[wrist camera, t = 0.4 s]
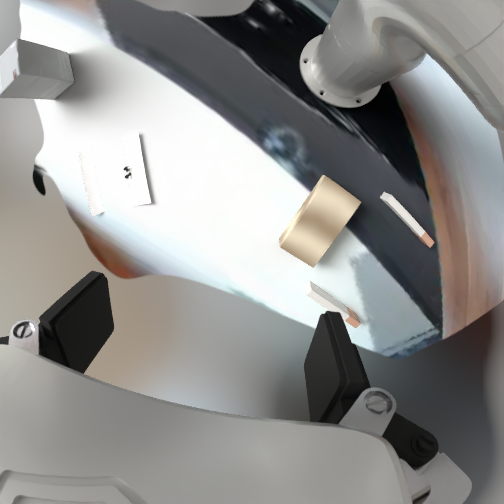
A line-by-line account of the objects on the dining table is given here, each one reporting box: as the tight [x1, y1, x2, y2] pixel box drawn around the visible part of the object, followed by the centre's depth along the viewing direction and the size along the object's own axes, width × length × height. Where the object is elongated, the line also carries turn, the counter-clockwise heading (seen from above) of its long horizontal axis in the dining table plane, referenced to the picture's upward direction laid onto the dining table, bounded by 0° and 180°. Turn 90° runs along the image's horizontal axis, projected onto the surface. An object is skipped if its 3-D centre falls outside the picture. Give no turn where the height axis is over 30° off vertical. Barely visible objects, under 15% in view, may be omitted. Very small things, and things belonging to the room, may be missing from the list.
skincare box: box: [0, 39, 75, 100], centre depth 25 cm, size 8×7×16 cm
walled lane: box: [305, 192, 434, 328], centre depth 42 cm, size 20×12×3 cm, turn 144°
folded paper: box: [79, 132, 151, 216], centre depth 40 cm, size 12×12×2 cm
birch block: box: [279, 175, 361, 268], centre depth 39 cm, size 12×6×4 cm, turn 149°
